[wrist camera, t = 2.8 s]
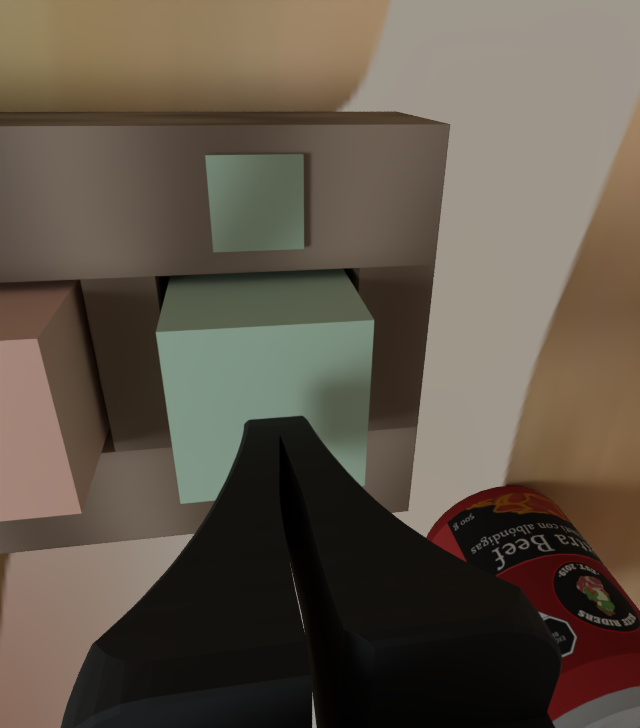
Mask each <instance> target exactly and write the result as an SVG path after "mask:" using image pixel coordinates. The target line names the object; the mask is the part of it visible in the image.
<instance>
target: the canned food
mask: <svg viewBox="0 0 640 728" xmlns="http://www.w3.org/2000/svg"><path fill="white" fill-rule="evenodd" d="M427 539H428V540H430V541H431V542H433V543H434V544H436V545H438V546H439V547H441V548H442V549H444V550H446V551H448V552H449V553H451V554H453V555H455V556H457V557H458V558H460V559H462V560H464V561H466V562H467V563H469V564H471V565H473V566H475V567H477V568H479V569H481V570H484V571H486V572H488V573H490V574H492V575H494V576H497V577H499V578H501V579H503V580H505V581H507V582H509V583H512V584H514V585H516V586H518V587H520V588H521V589H522V591H523V592H524V594H525V595H526V596H527V598H528V599H529V600H530V602H531V603H532V604H533V606H534V607H535V608H536V610H537V611H538V612H539V614H540V615H541V617H542V618H543V620H544V621H545V623H546V625H547V626H548V628H549V630H550V631H551V633H552V635H553V637H554V638H555V640H556V642H557V643H558V645H559V648H560V651H561V655H562V658H563V660H562V666H561V673H560V676H559V679H558V682H557V685H556V687H555V690H554V693H553V696H552V699H551V702H550V705H549V708H548V711H547V712H548V714H549V716H550V718H551V720H552V722H553V724H554V726H555V728H640V610H639V609H638V608H637V607H636V605H635V604H634V603H633V601H632V600H631V599H630V598H629V596H628V595H627V594H626V592H625V591H624V590H623V589H622V587H621V586H620V585H619V583H618V582H617V581H616V580H615V578H614V577H613V576H612V574H611V573H610V572H609V571H608V569H607V568H606V567H605V565H604V564H603V563H602V562H601V560H600V559H599V558H598V556H597V555H596V554H595V553H594V551H593V550H592V549H591V547H590V546H589V545H588V544H587V542H586V541H585V540H584V538H583V537H582V536H581V535H580V533H579V532H578V531H577V530H576V528H575V527H574V526H573V524H572V523H571V522H570V521H569V519H568V518H567V517H566V515H565V514H564V513H563V512H562V510H561V509H560V508H559V507H558V506H557V505H556V504H555V503H554V502H552V501H551V500H549V499H548V498H546V497H545V496H543V495H542V494H540V493H538V492H536V491H534V490H532V489H528V488H525V487H519V486H503V487H495V488H491V489H488V490H484V491H480V492H478V493H476V494H474V495H471V496H469V497H467V498H465V499H463V500H462V501H460V502H458V503H457V504H455V505H454V506H453V507H452V508H450V509H449V510H448V511H447V512H445V513H444V514H443V515H442V516H441V517H440V518H439V520H438V521H437V522H436V523H435V524H434V526H433V527H432V529H431V530H430V532H429V533H428V535H427Z"/></svg>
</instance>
